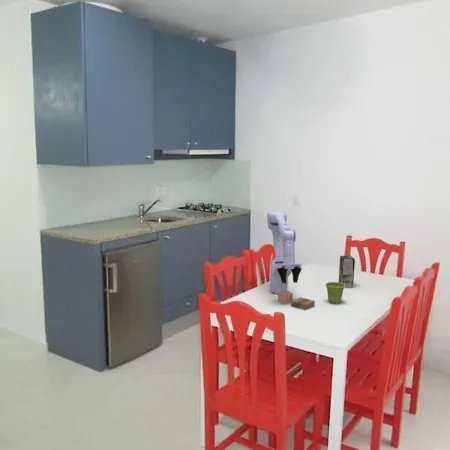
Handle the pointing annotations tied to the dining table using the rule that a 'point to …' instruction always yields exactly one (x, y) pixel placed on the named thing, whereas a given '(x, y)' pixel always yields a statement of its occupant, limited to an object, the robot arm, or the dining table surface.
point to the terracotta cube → (285, 297)
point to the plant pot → (335, 291)
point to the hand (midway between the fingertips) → (289, 282)
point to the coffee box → (346, 271)
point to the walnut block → (302, 303)
